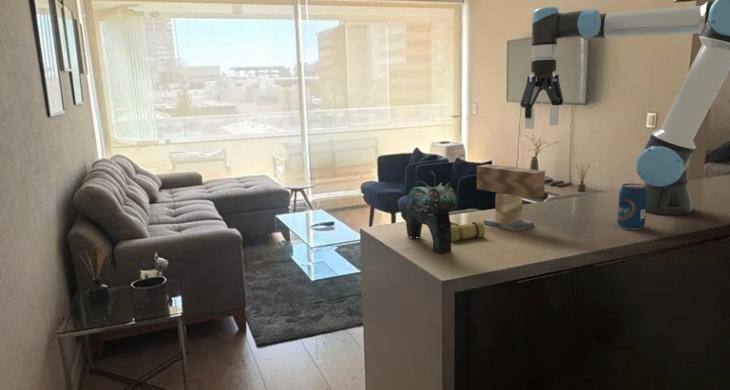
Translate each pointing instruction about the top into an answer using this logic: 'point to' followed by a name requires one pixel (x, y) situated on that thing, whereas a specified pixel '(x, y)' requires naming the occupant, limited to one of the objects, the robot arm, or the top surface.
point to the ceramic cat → (431, 213)
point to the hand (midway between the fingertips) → (541, 126)
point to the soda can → (632, 206)
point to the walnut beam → (511, 180)
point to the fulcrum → (508, 213)
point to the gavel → (467, 231)
